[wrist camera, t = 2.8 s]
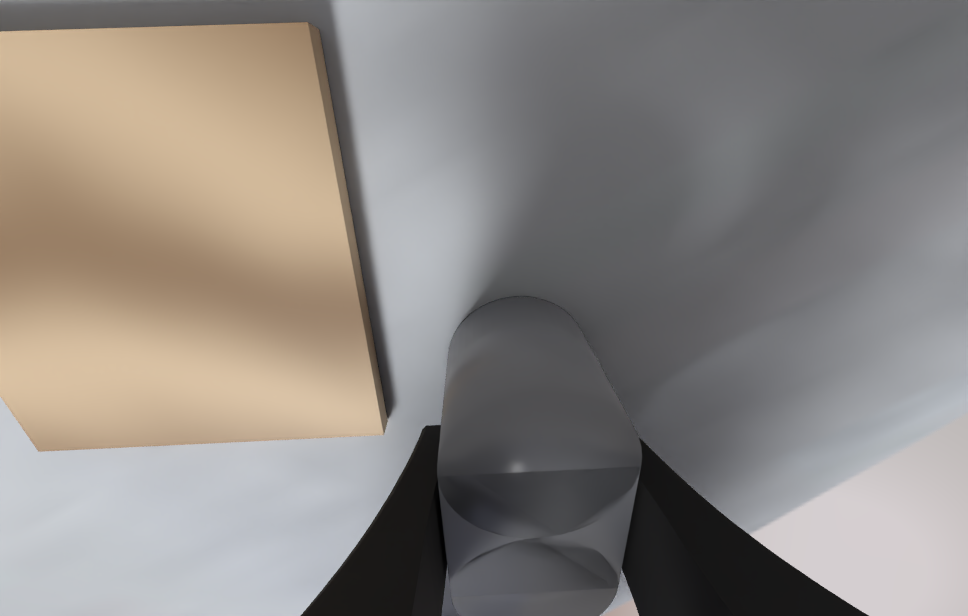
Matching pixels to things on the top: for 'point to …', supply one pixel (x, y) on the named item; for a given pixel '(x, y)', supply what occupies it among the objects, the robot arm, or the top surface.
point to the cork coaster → (178, 241)
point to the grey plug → (532, 466)
